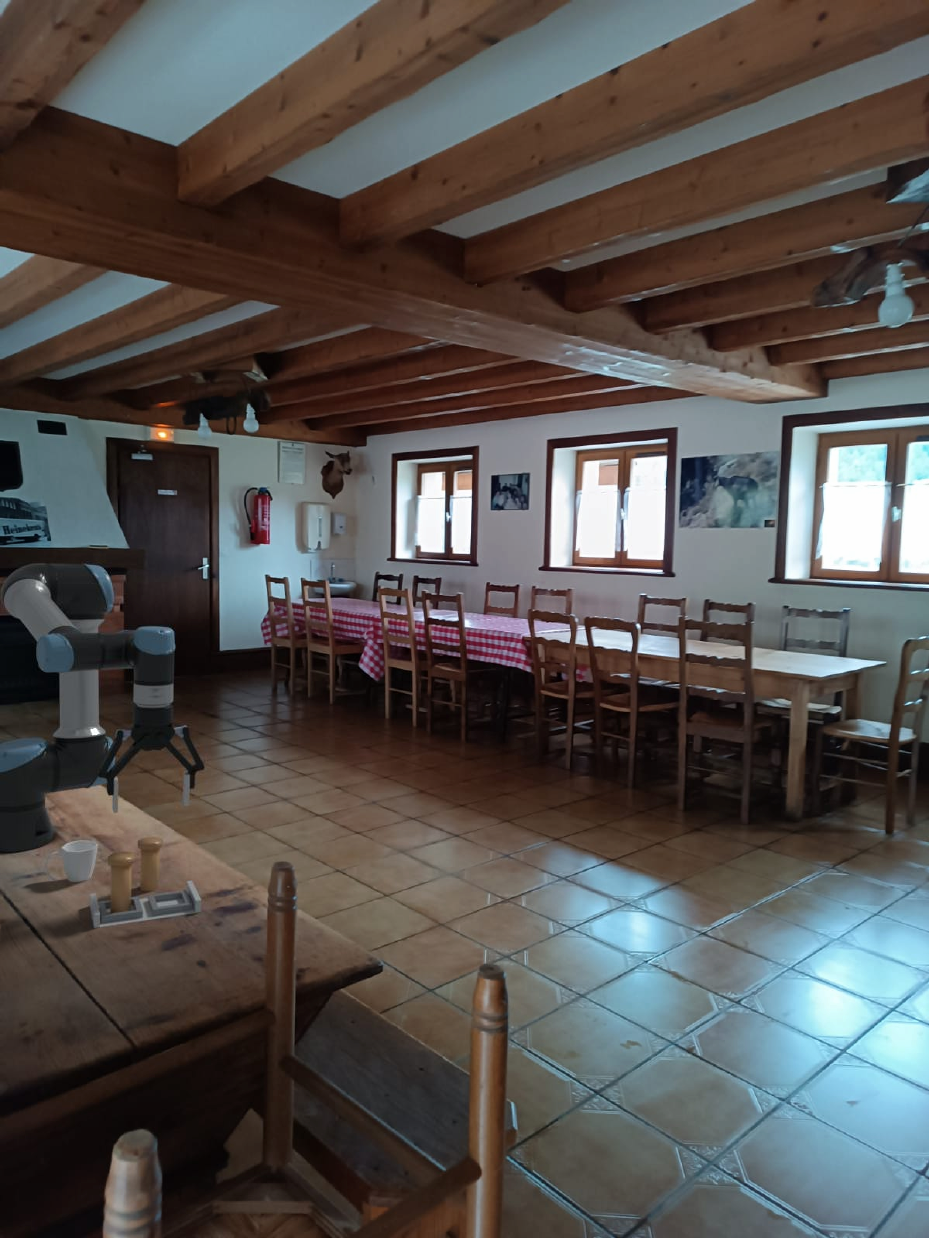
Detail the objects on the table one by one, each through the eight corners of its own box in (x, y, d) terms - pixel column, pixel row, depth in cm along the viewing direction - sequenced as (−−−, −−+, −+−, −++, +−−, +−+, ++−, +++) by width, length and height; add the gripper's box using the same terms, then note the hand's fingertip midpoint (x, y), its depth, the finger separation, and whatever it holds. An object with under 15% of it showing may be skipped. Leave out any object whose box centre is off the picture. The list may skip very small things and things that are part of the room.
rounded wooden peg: (105, 909, 163) (106, 853, 162) (132, 905, 166) (133, 850, 165) (107, 919, 159) (109, 862, 158) (135, 915, 161) (136, 859, 160)
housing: (89, 911, 164) (90, 893, 164) (191, 897, 173) (191, 880, 173) (93, 934, 156) (94, 915, 155) (200, 917, 164) (201, 899, 164)
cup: (97, 888, 175) (98, 850, 175) (43, 893, 171) (43, 854, 171) (97, 875, 182) (98, 838, 181) (45, 880, 178) (45, 842, 177)
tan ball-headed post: (135, 890, 175) (136, 838, 174) (159, 887, 177) (161, 835, 176) (138, 899, 171) (139, 846, 170) (163, 896, 173) (164, 843, 172)
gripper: (86, 710, 162) (85, 819, 163) (220, 705, 173) (217, 806, 175) (84, 702, 168) (82, 807, 170) (213, 698, 180) (210, 796, 182)
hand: (151, 807), depth 172 cm, fingers open, 13 cm apart
